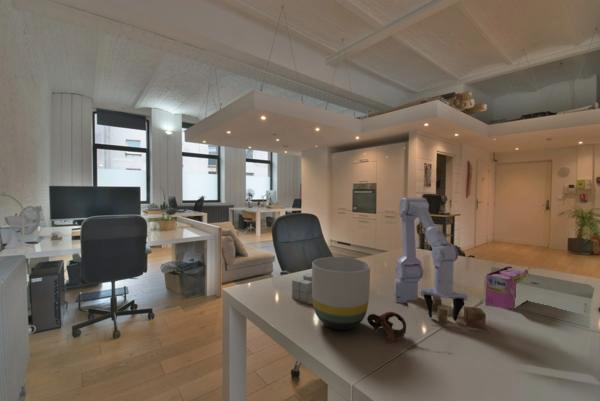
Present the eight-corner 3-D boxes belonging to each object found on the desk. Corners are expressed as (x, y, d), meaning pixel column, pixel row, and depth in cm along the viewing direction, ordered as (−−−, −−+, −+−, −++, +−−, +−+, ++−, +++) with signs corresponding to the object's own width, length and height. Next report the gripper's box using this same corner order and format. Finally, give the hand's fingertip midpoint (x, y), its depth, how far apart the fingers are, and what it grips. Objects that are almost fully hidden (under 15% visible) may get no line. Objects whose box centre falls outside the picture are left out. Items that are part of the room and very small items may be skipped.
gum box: (508, 295, 125) (509, 265, 124) (529, 300, 118) (531, 270, 118) (484, 306, 112) (485, 273, 111) (507, 314, 105) (508, 279, 105)
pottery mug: (399, 328, 93) (408, 313, 89) (400, 354, 85) (409, 339, 81) (364, 316, 95) (371, 301, 91) (362, 340, 87) (369, 325, 83)
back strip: (435, 315, 101) (435, 301, 101) (431, 307, 108) (432, 294, 108) (476, 321, 97) (477, 306, 97) (470, 312, 104) (470, 298, 104)
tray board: (431, 329, 91) (431, 325, 91) (422, 306, 110) (422, 302, 110) (489, 338, 87) (490, 333, 87) (470, 312, 105) (470, 308, 105)
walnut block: (467, 327, 91) (468, 312, 91) (463, 320, 96) (464, 306, 95) (485, 329, 89) (485, 314, 89) (479, 322, 94) (480, 308, 94)
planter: (331, 346, 81) (333, 275, 80) (301, 318, 98) (302, 260, 97) (381, 332, 90) (382, 267, 89) (345, 308, 107) (346, 254, 106)
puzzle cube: (315, 305, 110) (315, 286, 110) (291, 298, 117) (292, 280, 117) (330, 296, 120) (330, 278, 119) (307, 290, 127) (308, 273, 126)
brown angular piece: (440, 327, 92) (441, 312, 92) (436, 317, 99) (436, 303, 99) (486, 334, 88) (487, 318, 88) (478, 323, 95) (479, 308, 95)
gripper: (422, 280, 93) (421, 319, 93) (470, 285, 89) (469, 326, 89) (419, 274, 100) (418, 311, 100) (464, 278, 96) (463, 317, 96)
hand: (442, 317), depth 95 cm, fingers open, 7 cm apart
